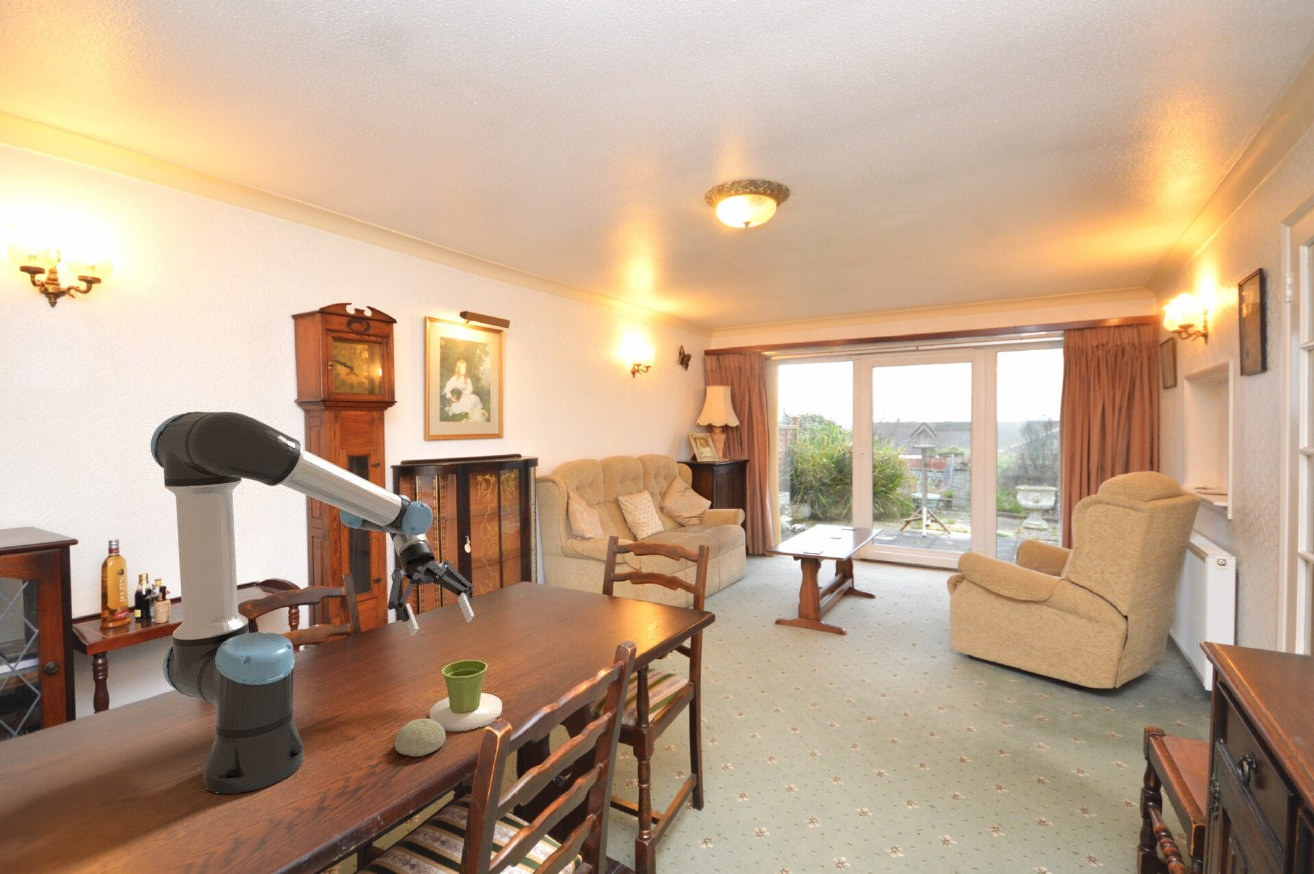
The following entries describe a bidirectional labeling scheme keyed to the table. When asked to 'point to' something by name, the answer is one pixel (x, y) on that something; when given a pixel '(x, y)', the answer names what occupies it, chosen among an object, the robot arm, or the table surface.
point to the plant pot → (464, 684)
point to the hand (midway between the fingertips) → (443, 625)
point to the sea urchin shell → (420, 737)
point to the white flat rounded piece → (467, 714)
